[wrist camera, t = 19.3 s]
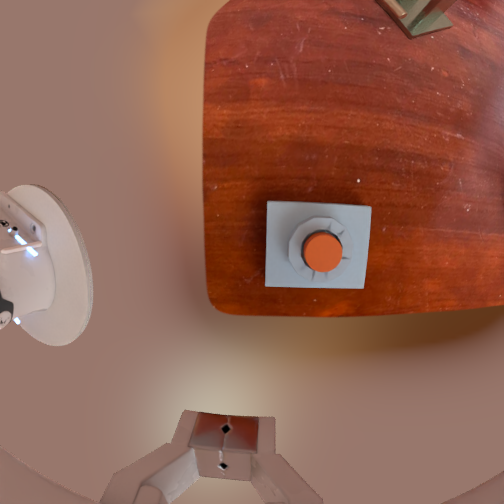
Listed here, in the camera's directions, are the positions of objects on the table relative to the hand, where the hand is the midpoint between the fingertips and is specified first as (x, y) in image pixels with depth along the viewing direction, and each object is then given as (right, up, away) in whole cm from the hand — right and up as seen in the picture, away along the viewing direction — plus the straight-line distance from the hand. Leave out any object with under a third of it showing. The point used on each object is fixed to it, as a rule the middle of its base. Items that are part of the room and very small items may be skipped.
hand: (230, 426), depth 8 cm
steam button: (+8, +6, +19) cm, 22 cm away
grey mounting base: (+8, +7, +23) cm, 25 cm away
